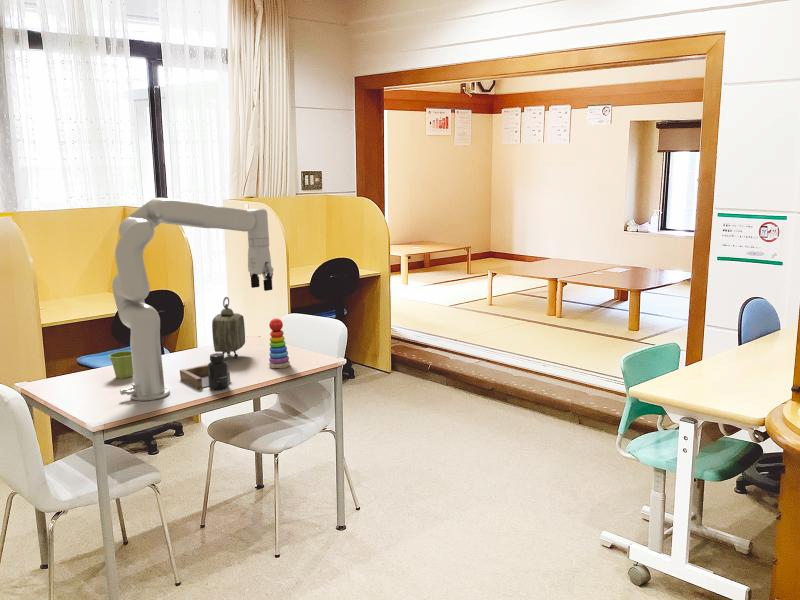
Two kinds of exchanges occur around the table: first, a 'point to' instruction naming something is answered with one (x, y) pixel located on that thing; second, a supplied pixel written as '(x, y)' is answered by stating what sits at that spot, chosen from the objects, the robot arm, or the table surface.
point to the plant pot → (122, 364)
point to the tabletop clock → (228, 331)
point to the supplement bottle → (218, 372)
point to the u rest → (197, 376)
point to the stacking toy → (277, 346)
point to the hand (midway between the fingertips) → (261, 288)
